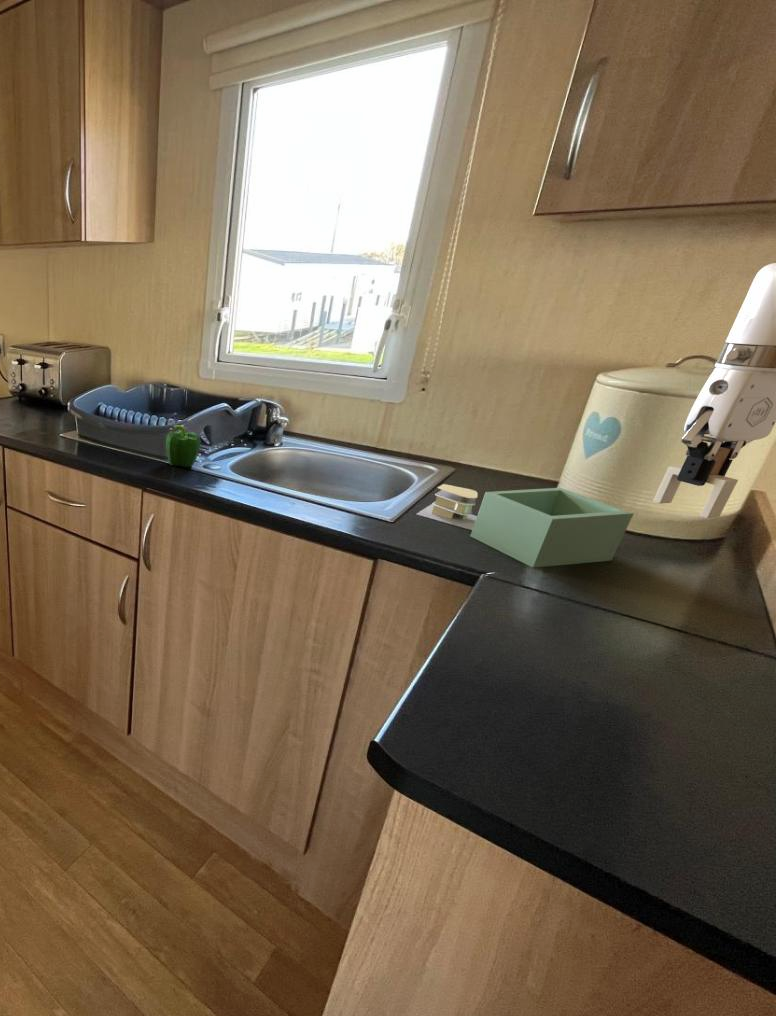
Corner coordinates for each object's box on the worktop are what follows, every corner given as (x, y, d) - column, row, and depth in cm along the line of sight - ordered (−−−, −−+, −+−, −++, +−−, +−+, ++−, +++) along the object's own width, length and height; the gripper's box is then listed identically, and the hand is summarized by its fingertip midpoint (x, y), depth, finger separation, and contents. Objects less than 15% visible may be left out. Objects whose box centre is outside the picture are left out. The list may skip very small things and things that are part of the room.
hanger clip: (664, 500, 90) (691, 440, 86) (719, 517, 83) (752, 453, 79) (652, 501, 89) (680, 441, 85) (707, 518, 83) (739, 454, 79)
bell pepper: (200, 462, 140) (204, 423, 136) (194, 471, 133) (199, 431, 129) (168, 458, 143) (171, 420, 139) (161, 467, 136) (164, 427, 132)
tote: (542, 530, 105) (559, 487, 101) (611, 560, 94) (634, 513, 90) (469, 536, 102) (485, 491, 98) (532, 567, 91) (552, 519, 87)
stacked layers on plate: (415, 514, 111) (423, 488, 109) (431, 504, 116) (439, 479, 114) (472, 530, 104) (481, 503, 102) (486, 518, 110) (495, 493, 107)
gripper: (749, 362, 72) (686, 493, 79) (838, 360, 75) (769, 487, 82) (681, 356, 79) (629, 477, 86) (765, 354, 82) (707, 472, 89)
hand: (698, 481), depth 84 cm, fingers closed on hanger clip, 2 cm apart
